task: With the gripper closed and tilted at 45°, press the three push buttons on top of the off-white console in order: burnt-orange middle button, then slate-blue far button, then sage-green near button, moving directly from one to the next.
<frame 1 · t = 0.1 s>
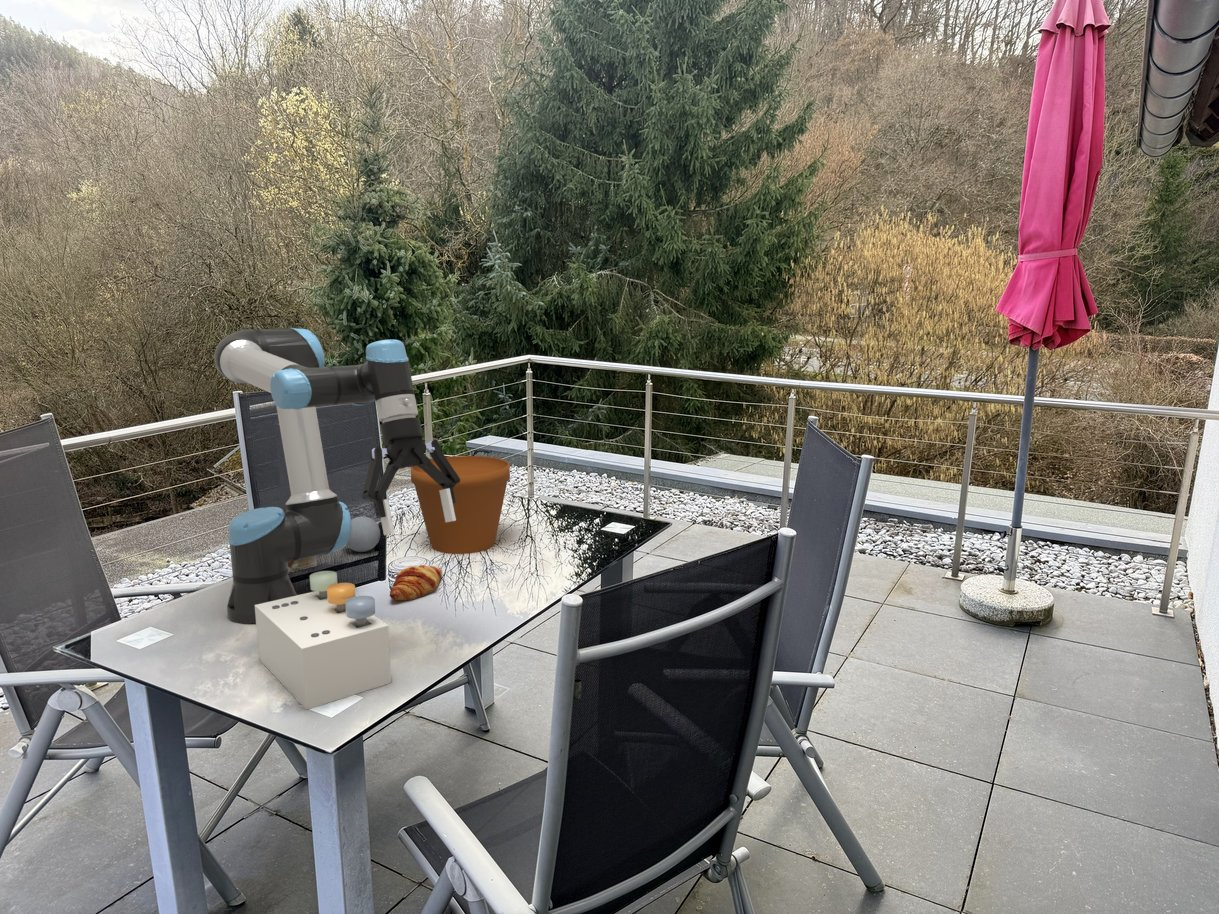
hand: (421, 528, 157), 28 cm above the table, tool tilted 20°, fingers open, 13 cm apart
croissant: (418, 592, 201), on the table
console: (323, 670, 158), on the table
coffee box: (296, 568, 217), on the table
button orange: (341, 600, 158), point 13 cm above the table, slide at 0.0 cm
button sage: (324, 588, 165), point 13 cm above the table, slide at 0.0 cm
grey ball: (362, 551, 231), on the table
flowerpot: (463, 544, 238), on the table
button slate: (360, 614, 152), point 13 cm above the table, slide at 0.0 cm
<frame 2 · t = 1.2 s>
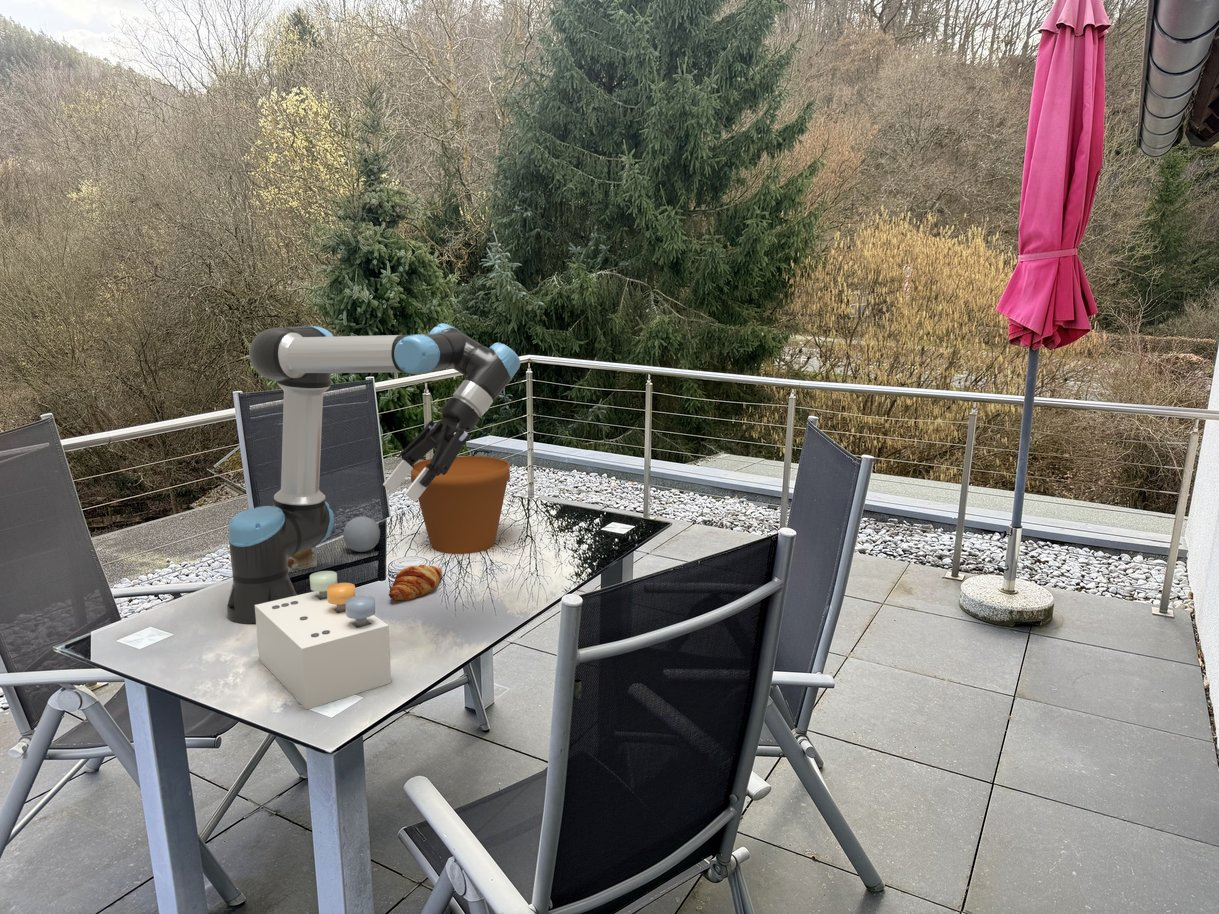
hand: (398, 493, 163), 33 cm above the table, tool tilted 45°, fingers open, 9 cm apart
nothing on the table moved.
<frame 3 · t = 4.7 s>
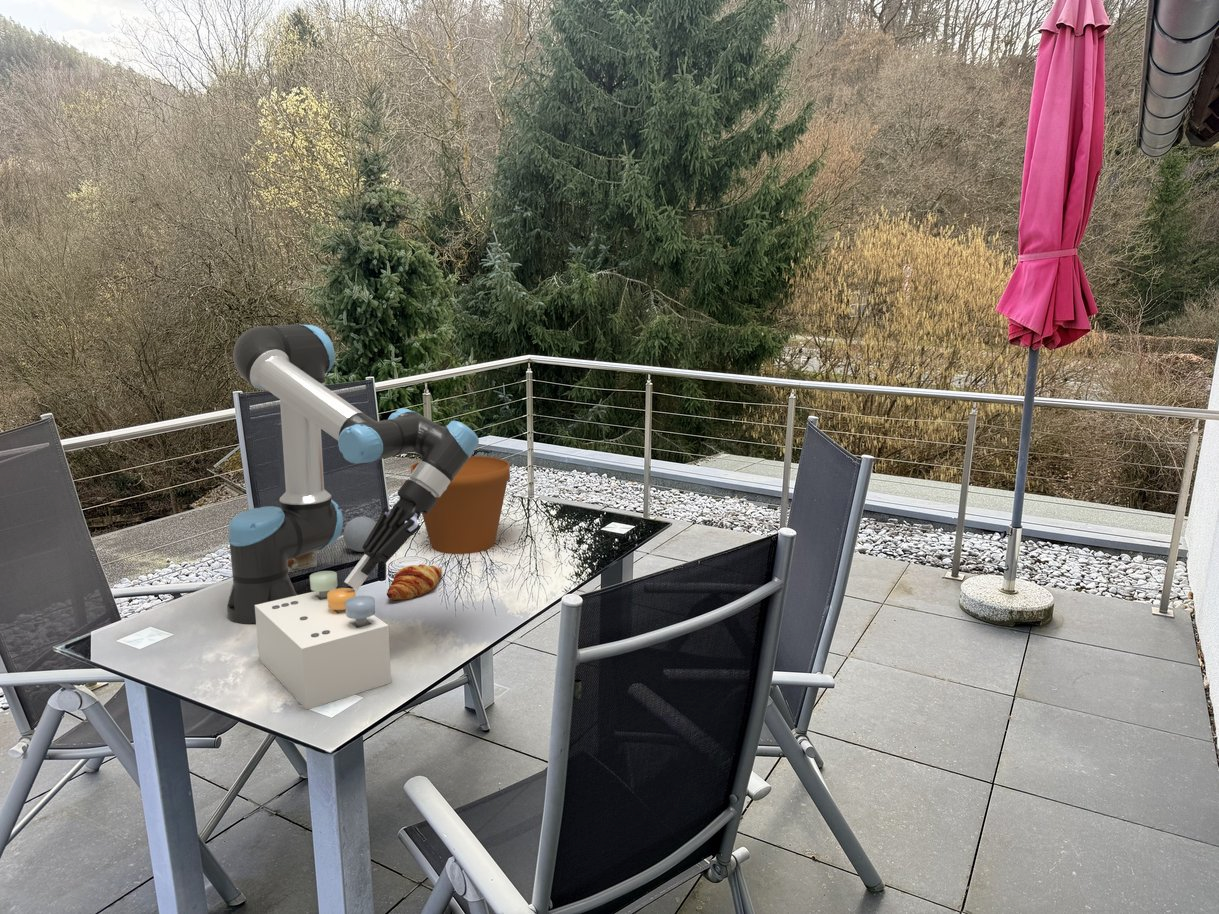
hand: (350, 586, 159), 16 cm above the table, tool tilted 45°, fingers closed
button orange: (342, 606, 159), point 12 cm above the table, slide at 1.1 cm, touching gripper
everything else where it was.
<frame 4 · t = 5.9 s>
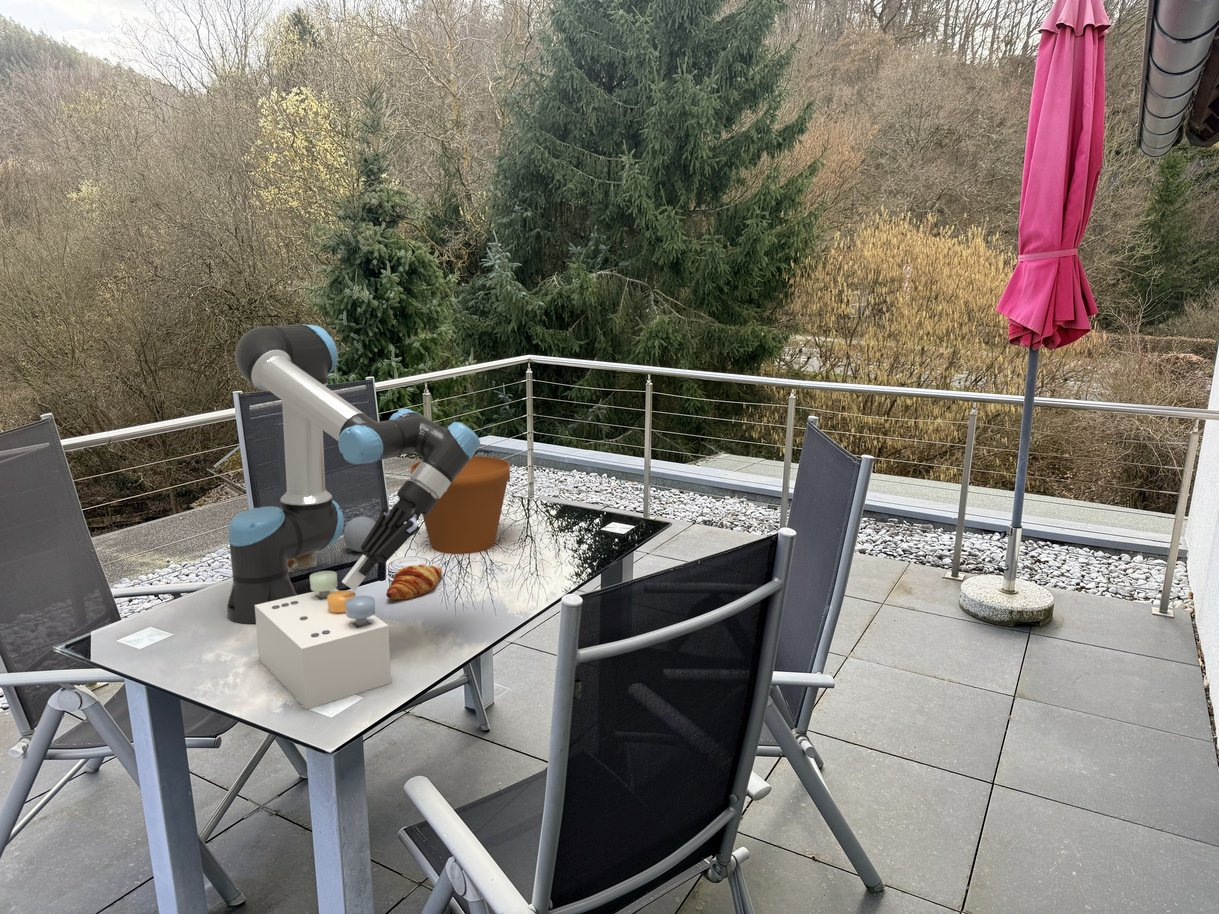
hand: (348, 586, 158), 16 cm above the table, tool tilted 45°, fingers closed
button orange: (342, 608, 159), point 12 cm above the table, slide at 1.6 cm
everything else where it was.
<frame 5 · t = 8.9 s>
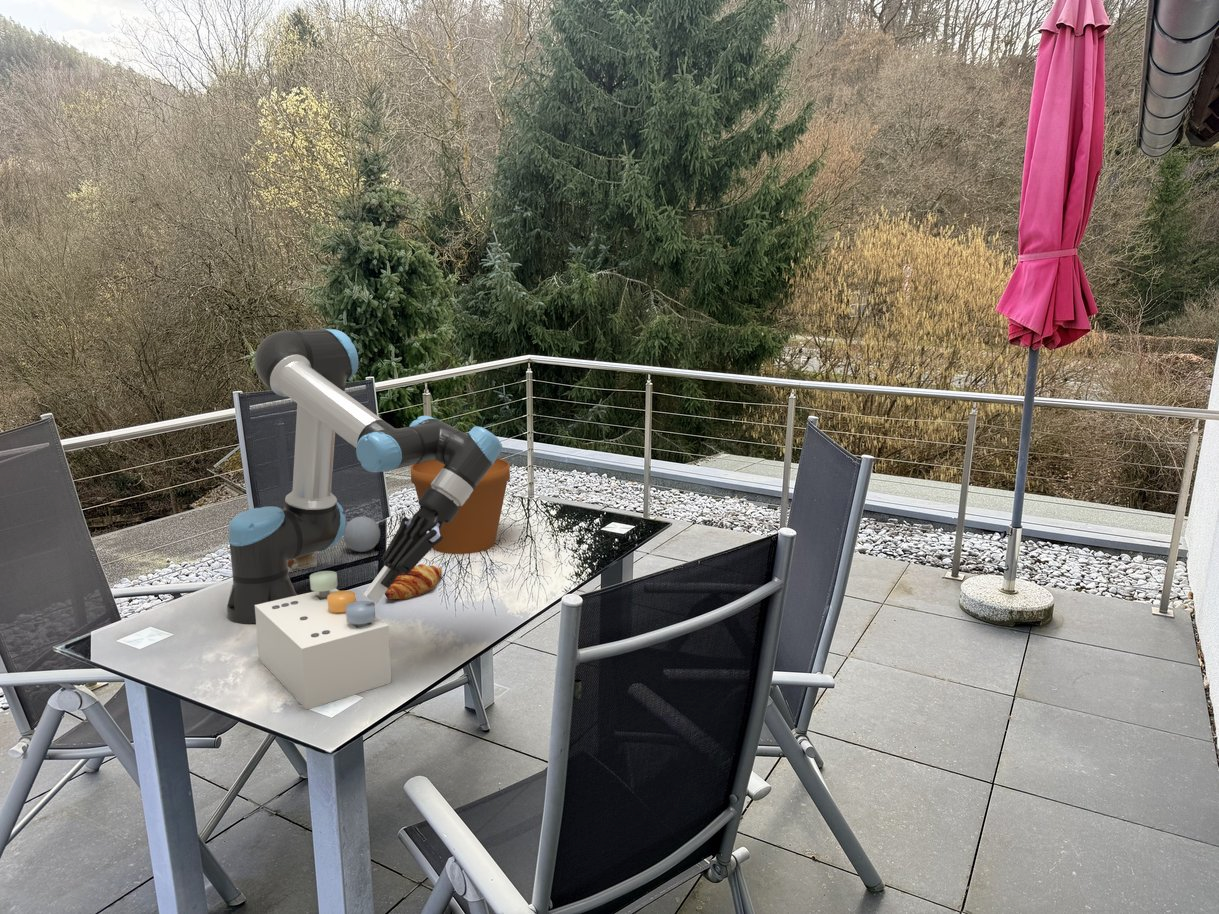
hand: (370, 599, 152), 16 cm above the table, tool tilted 45°, fingers closed
button slate: (361, 620, 152), point 12 cm above the table, slide at 1.1 cm, touching gripper
everything else where it was.
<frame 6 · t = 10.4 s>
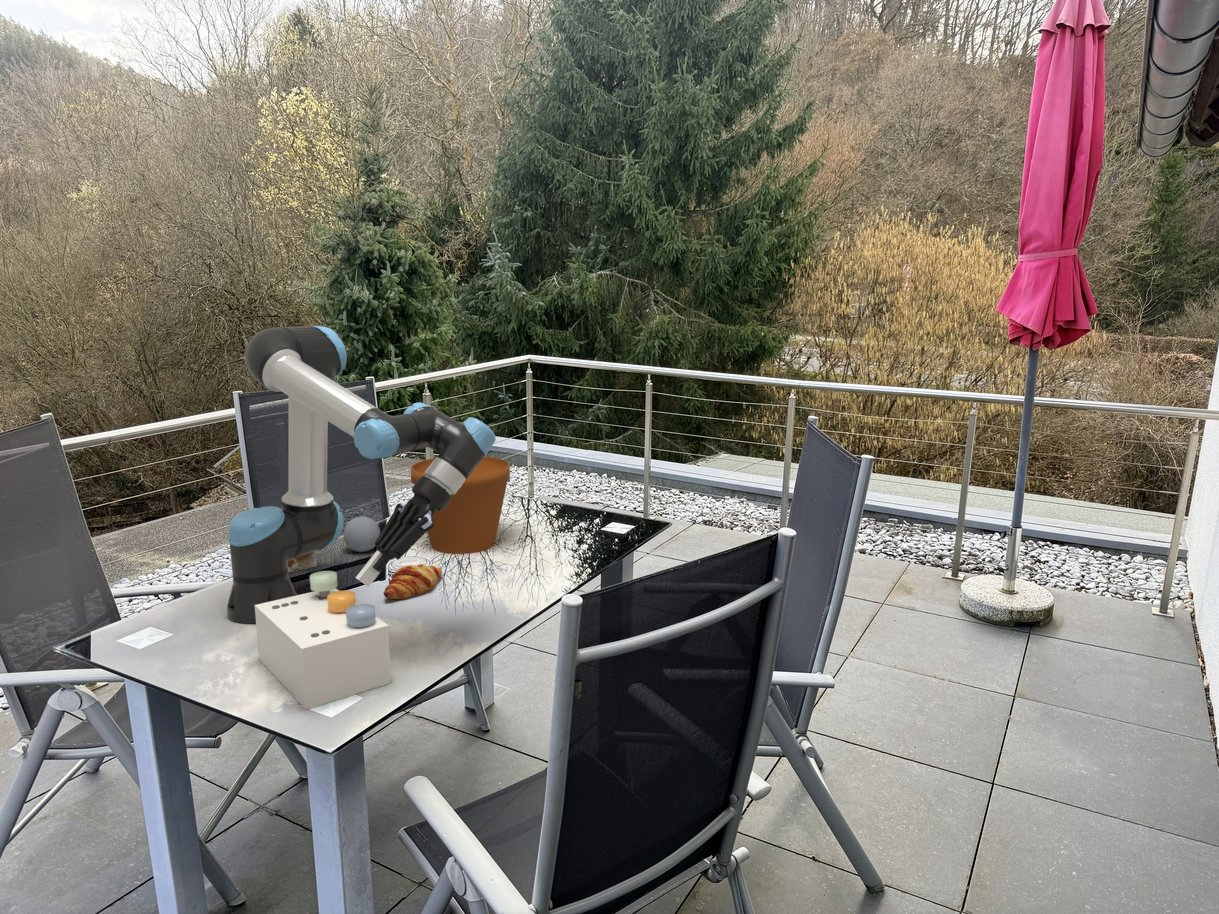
hand: (362, 582, 156), 17 cm above the table, tool tilted 45°, fingers closed
button slate: (361, 622, 152), point 12 cm above the table, slide at 1.6 cm
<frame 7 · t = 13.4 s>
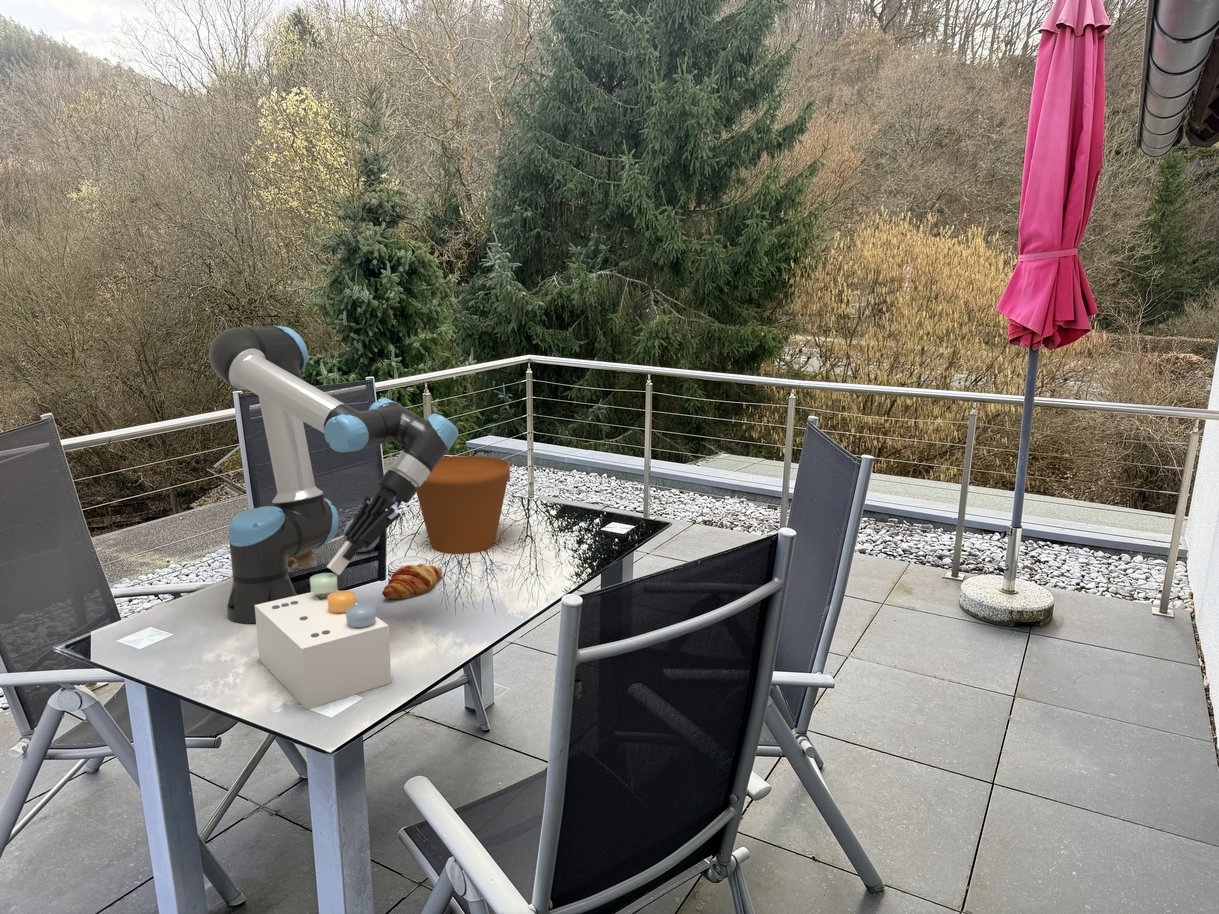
hand: (332, 571, 165), 17 cm above the table, tool tilted 45°, fingers closed
button sage: (324, 590, 165), point 13 cm above the table, slide at 0.5 cm, touching gripper
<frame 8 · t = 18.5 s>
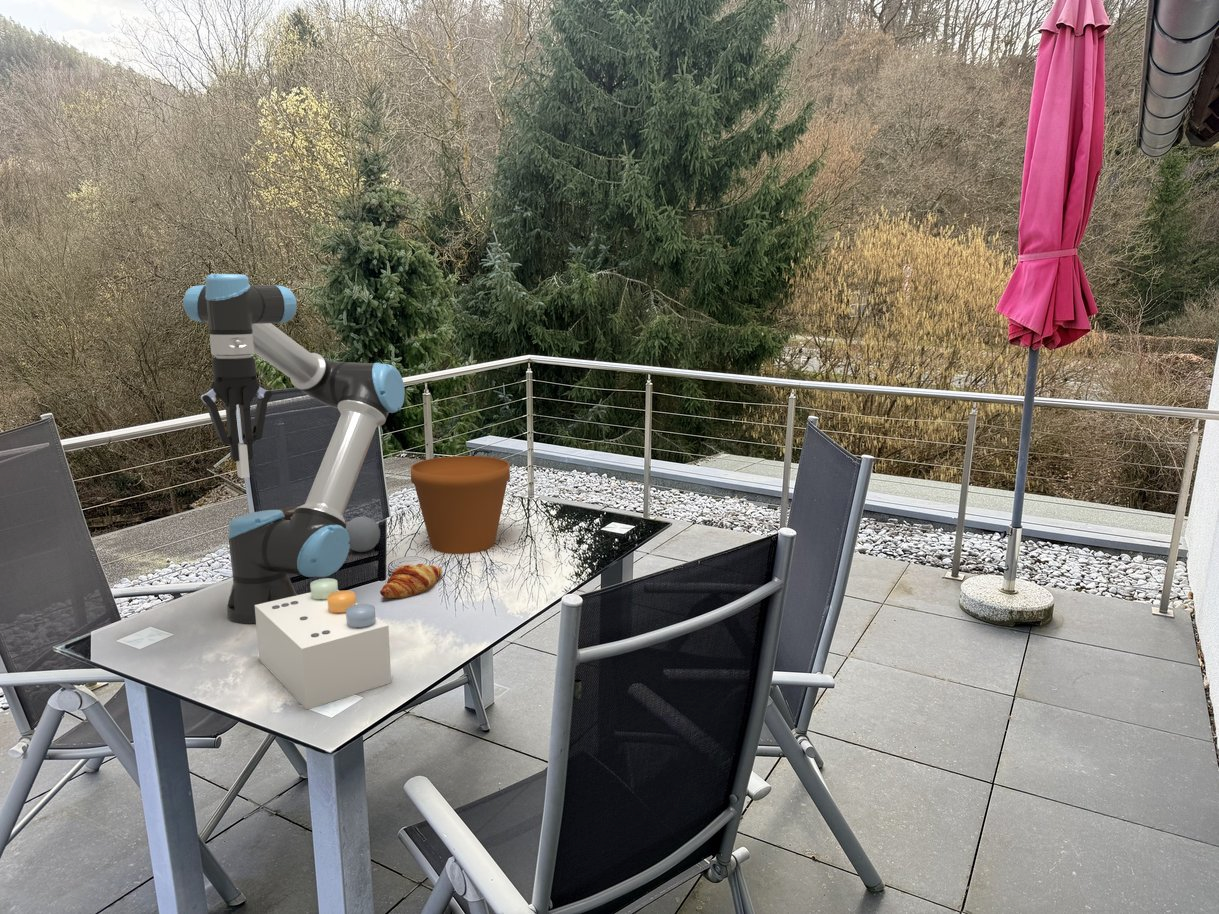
hand: (243, 476, 160), 36 cm above the table, tool pointing down, fingers closed
button sage: (324, 595, 166), point 12 cm above the table, slide at 1.6 cm
at the end: button orange slide at 1.6 cm; button slate slide at 1.6 cm; button sage slide at 1.6 cm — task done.
